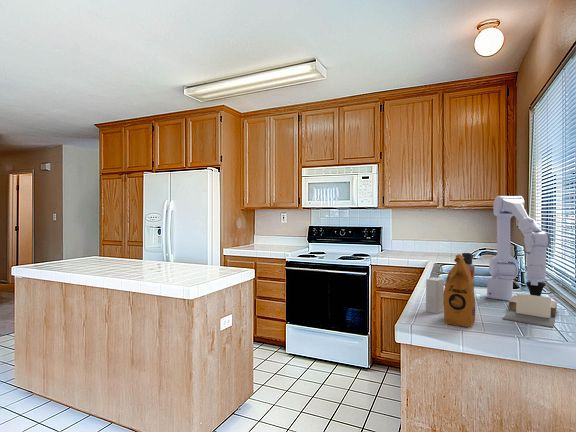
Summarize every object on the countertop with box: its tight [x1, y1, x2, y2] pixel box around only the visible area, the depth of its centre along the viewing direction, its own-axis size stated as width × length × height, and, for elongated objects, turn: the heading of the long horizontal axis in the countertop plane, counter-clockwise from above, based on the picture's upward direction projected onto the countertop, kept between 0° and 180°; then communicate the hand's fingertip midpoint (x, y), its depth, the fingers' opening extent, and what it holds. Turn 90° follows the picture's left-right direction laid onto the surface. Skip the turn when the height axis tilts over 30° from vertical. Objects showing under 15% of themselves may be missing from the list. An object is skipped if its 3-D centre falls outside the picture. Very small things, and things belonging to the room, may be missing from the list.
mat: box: [502, 309, 556, 329], centre depth 126 cm, size 14×14×1 cm
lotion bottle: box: [461, 252, 476, 288], centre depth 151 cm, size 6×6×20 cm
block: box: [516, 292, 552, 318], centre depth 129 cm, size 10×7×2 cm
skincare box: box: [425, 277, 445, 315], centre depth 133 cm, size 6×4×12 cm
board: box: [508, 295, 558, 318], centre depth 137 cm, size 14×13×4 cm
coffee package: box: [443, 254, 476, 328], centre depth 121 cm, size 10×12×22 cm
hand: (535, 302), depth 132 cm, fingers closed
